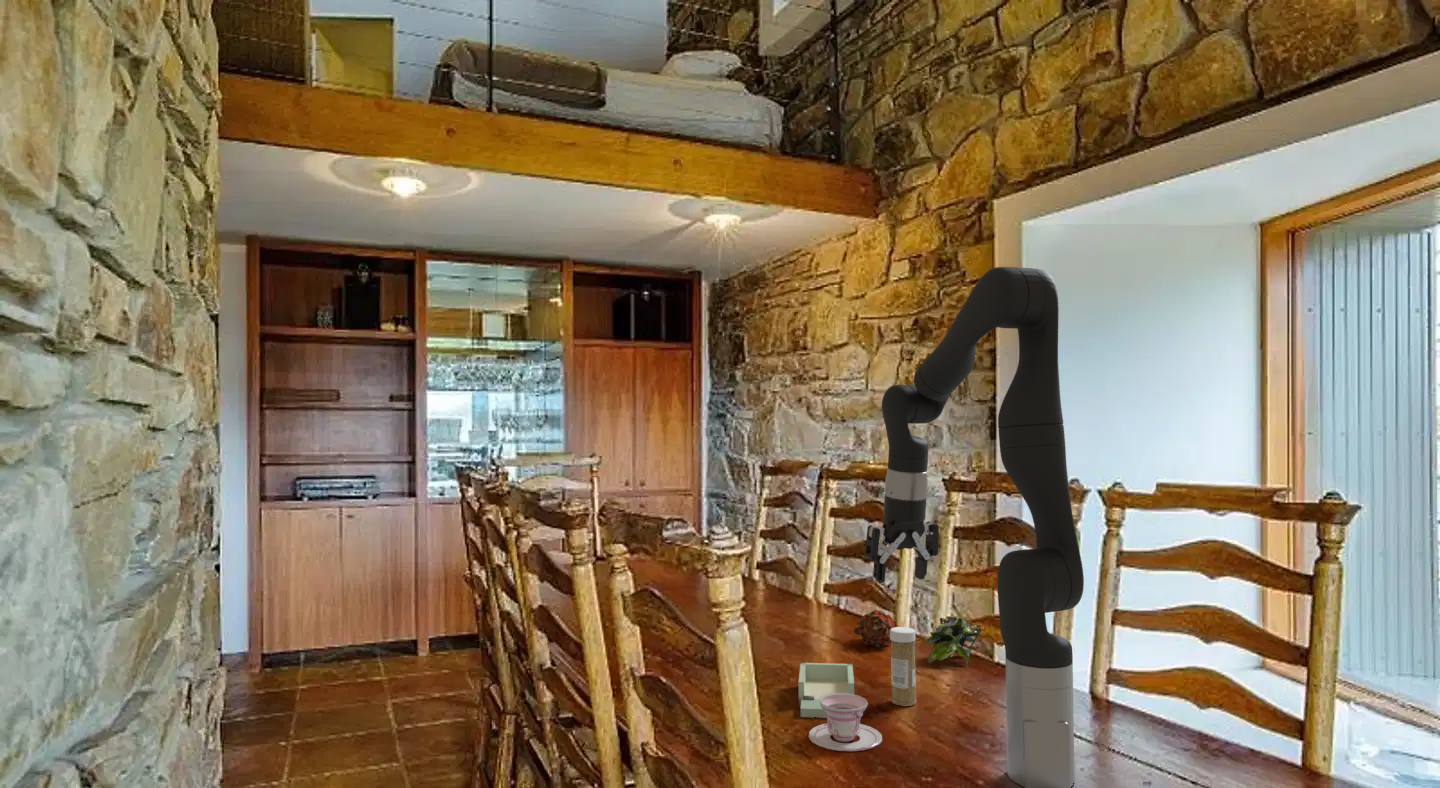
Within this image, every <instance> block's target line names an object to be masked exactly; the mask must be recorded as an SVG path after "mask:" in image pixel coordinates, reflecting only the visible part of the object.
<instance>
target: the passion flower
mask: <svg viewBox="0 0 1440 788" xmlns="http://www.w3.org/2000/svg"><path fill="white" fill-rule="evenodd" d="M939 624H940V625H939ZM939 624H938V627H934V628H935V630H932V631H931V632H929V634H930V636H929V637H924V640H925V641H926V643H925V646H926V647H928V646H929V645H930V644H933V645H932V647H931V651H930V653H929V654H928V656H927V662H928V663H929V665H931V663H933V662H934V661H936V660H938V661H940V662H941V661H944V660H946V659H948V658H949V657H951V656H952V655H954V654H955V653H957V654H958V655H959V656H961V658H963V659H965V667H967V665H968V663H969V661H970V657H969V656H970V654H971V651H972V648H973V645H974V644H975V642H976V641H977V639H978V637H979V636H980V634H981V633H982V627H981V626H979V625H977V624H975V625H973V626H972V625H971V623H970V622H969V621H968V620H966V619H965V620H964V619H963V617H961V616H960V617H956V616H951V615H950V616H949V615H947V616H946V618H944V617H940V618H939ZM974 636H975V637H974ZM965 642H969V643H971V644H970V646H968V647H967V648H964V644H965Z"/></svg>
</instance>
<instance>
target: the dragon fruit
mask: <svg viewBox="0 0 1440 788" xmlns="http://www.w3.org/2000/svg"><path fill="white" fill-rule="evenodd" d="M856 625H857V627H856V626H855V627H854V628H853V633H854V634H855V635H858V636H859V635H860V637H861V642H863V643H864V644H865V645H866V646H871V645H872V647H873V646H874V647H875V648H879V649H881V648H883V647H884V646H885V645H889V644H890V645H891V639H890V629H892V628H895V627H896V626H895V619H893V618H892V616H891V615H889V614H886V613H885V612H884V611H882V610H879V609H873V610H872V611H871V612H869V613H865V614H864V615H863V616H861V617H860V621H858V622H857V624H856Z"/></svg>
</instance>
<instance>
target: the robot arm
mask: <svg viewBox="0 0 1440 788" xmlns="http://www.w3.org/2000/svg"><path fill="white" fill-rule="evenodd" d="M960 308H961V309H960V311H959V312H958V313H957V315H956V317H955V319H954V320H953V323H952V324H951V326H950V328H949V329H948V331H947V333H946V335H945V336H944V337H943V339H942V340H941V341H940V342H939V344H938V345H937V346H936V347H935V349H933V351H932V352H931V353H930V354H929V355H928V356H927V357H926V358H925V359H924V361H922V363H921V364H920V365H919V367H917V369H916V371H915V372H914V375H913V383H914V384H894V385H891V386H890V387H888V388H887V389H886V391H885V392H884V394H883V396H882V399H881V412H882V417H883V421H884V426H885V430H886V437H887V443H888V460H887V472H886V476H885V480H884V481H885V482H884V483H885V484H884V500H883V515H882V516H883V524H882V526H874V525H872V524H869V525H868V526H867V529H866V536H865V537H866V538H865V547H864V557H866V558H867V559H869V560H871V561H873V573H872V576H873V578H874V579H875V581H876V582H877V583H880V584H884V583H885V582H886V566H887V563H886V562H887V560H888V558H889V557H890V556H892V555H893V554H894V553H895V551H896V550H898V551H899V550H901V551H902V550H904V549H908V550H910V549H913V551H914V553H916V555H917V556H916V557H915V565H914V577H915V578H916V579H918V580H925V577H926V576H927V572H928V560H929V559H930V558H931V557H933V556H934V557H936V556H938V555H939V532H940V531H939V525H938V524H936V523H935V522H932V521H929V520H927V521H926V523H924V521H925V520H926V511H927V499H928V497H927V496H928V464H929V463H928V462H929V443H928V441H927V440H926V439H924V438H923V437H920V436H916V435H912V433H911V432H910V428H909V425H911V424H913V425H914V424H928V423H931V422H933V421H935V420H936V419H938V418H939V417H940V416H941V415H942V413H943V411H944V409H945V406H946V404H947V402H948V399H949V397H950V396H951V394H952V392H954V391H955V389H957V388H958V387H959V386H960V385H961V384H962V382H963V381H964V380H965V379H966V378H967V377H968V376H969V374H970V373H971V371H972V370H973V367H974V364H975V362H976V354H977V353H976V349H977V345H978V342H980V340H981V339H982V338H984V337H985V336H986V335H987V334H988V333H990V332H991V331H993V330H994V329H997V328H999V329H1017V332H1018V333H1017V334H1018V346H1019V347H1018V349H1019V350H1018V352H1019V354H1018V355H1019V357H1018V363H1017V368H1016V372H1015V374H1014V375H1013V379H1012V380H1011V383H1010V385H1009V386H1008V388H1007V391H1006V394H1005V396H1004V397H1003V400H1002V403H1001V405H1000V408H999V411H998V415H997V428H998V440H999V449H1000V450H999V452H1000V458H1001V462H1002V465H1003V467H1004V469H1005V471H1006V473H1007V475H1008V477H1009V478H1010V480H1011V482H1012V483H1013V485H1014V486H1015V488H1016V489H1017V491H1018V492H1019V493H1020V495H1021V497H1022V498H1023V500H1024V502H1025V504H1026V506H1027V507H1028V510H1029V512H1030V515H1031V517H1032V522H1033V526H1034V527H1033V528H1034V532H1035V540H1036V541H1035V543H1036V548H1027V549H1026V548H1025V549H1018V550H1012V551H1009V552H1008V553H1006V554H1005V555H1004V556H1003V557H1002V558H1001V560H1000V563H999V565H998V569H997V577H996V579H997V582H996V585H997V586H996V588H997V602H998V603H997V604H998V615H999V629H1000V635H1001V638H1002V641H1003V645H1004V648H1005V649H1004V650H1005V654H1004V655H1005V708H1006V711H1005V714H1006V716H1005V717H1006V719H1005V720H1006V721H1005V722H1006V758H1007V759H1006V760H1007V761H1006V763H1007V764H1006V765H1007V767H1006V768H1007V776H1008V778H1009V779H1010V780H1011V781H1013V782H1014V783H1015V784H1018V785H1020V786H1022V787H1023V788H1072V787H1071V785H1072V784H1073V783H1074V782H1075V779H1076V777H1075V775H1076V774H1075V738H1074V737H1075V733H1074V732H1075V731H1074V730H1075V728H1074V727H1075V725H1074V724H1075V723H1074V722H1075V721H1074V720H1075V719H1074V670H1073V669H1074V668H1073V663H1074V661H1073V660H1074V659H1073V658H1074V657H1073V655H1074V654H1073V652H1074V651H1073V646H1072V643H1071V642H1070V641H1069V640H1068V639H1066V638H1065V637H1063V636H1061V635H1057V634H1054V633H1051V632H1049V631H1048V626H1047V620H1046V613H1053V612H1054V613H1055V612H1056V613H1057V612H1062V611H1069V610H1071V609H1074V608H1075V607H1076V606H1077V605H1078V604H1079V603H1080V601H1081V600H1082V597H1083V593H1084V588H1085V587H1084V585H1085V584H1084V583H1085V580H1084V579H1085V578H1084V569H1083V563H1082V557H1081V552H1080V546H1079V542H1078V536H1077V532H1076V527H1075V521H1074V515H1073V510H1072V503H1071V501H1072V500H1071V494H1070V485H1069V477H1068V468H1067V451H1066V438H1065V436H1066V435H1065V427H1064V417H1063V411H1062V402H1061V400H1062V399H1061V391H1060V390H1061V389H1060V388H1061V386H1060V373H1059V370H1060V369H1059V317H1060V316H1059V312H1060V311H1059V295H1058V289H1057V286H1056V282H1055V280H1054V278H1053V277H1052V275H1051V274H1050V273H1049V272H1048V271H1046V270H1044V269H1040V268H1032V267H1030V268H1029V267H1017V266H998V267H997V266H996V267H993V268H991V269H989V270H987V271H986V272H984V274H982V276H981V277H980V278H979V280H978V281H977V283H976V284H975V285H974V287H973V288H972V290H971V291H970V293H969V295H968V296H967V297H966V300H965V302H964V304H963V305H962V307H960ZM923 534H925V538H924V540H925V543H924V542H923V540H922V539H921V537H922V536H923ZM882 535H883V537H882ZM880 539H881V540H880ZM1074 784H1075V783H1074Z"/></svg>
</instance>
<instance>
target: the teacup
mask: <svg viewBox="0 0 1440 788" xmlns="http://www.w3.org/2000/svg"><path fill="white" fill-rule="evenodd" d="M820 705H821V707H822V708H823V709H824V710H825V714H826V716H827V718H826V719H827V723H822V724H818V725H817V726H814V727H812V729H810V730H809V731H808V739H809V740H810V742H812V743H813V744H814V745H816V746H818V747H821V748H824V749H826V750H832V751H839V752H859V751H866V750H870V749H874V748H876V747H878V746H879V745H880V744H881V743H882V742H883V736H882V733H881V732H880V731H879V730H877V729H876V728H873V727H871V726H869V725H867V724H862V723H861V718H862V717H863V715H864V712H865V710H866V709H867V707H868V705H869V703H868V700H867V699H866V698H865V697H862V696H861V695H857V694H855V693H854V694H849V693H830V694H826V695H823V696H822V697H821V698H820ZM831 736H833V738H834V739H832V738H831ZM856 736H858V737H859V740H857V741H854V739H855V738H856ZM851 741H854V742H851Z"/></svg>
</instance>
